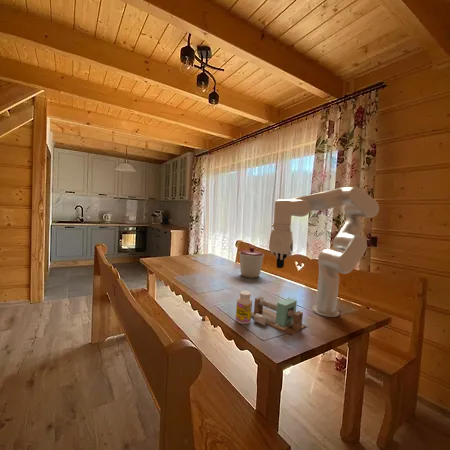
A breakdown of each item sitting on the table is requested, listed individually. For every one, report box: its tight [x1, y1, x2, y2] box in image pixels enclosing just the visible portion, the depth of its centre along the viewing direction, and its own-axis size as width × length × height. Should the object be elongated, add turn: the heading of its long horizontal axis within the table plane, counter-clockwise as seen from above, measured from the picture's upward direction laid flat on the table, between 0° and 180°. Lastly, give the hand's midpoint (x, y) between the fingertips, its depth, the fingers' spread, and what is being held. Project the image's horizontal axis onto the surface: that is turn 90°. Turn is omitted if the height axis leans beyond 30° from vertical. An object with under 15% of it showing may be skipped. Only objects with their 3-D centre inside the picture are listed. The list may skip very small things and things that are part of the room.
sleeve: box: [253, 313, 268, 327], centre depth 113 cm, size 4×5×4 cm
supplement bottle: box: [235, 290, 253, 325], centre depth 113 cm, size 7×7×13 cm
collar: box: [276, 297, 298, 326], centre depth 112 cm, size 9×4×9 cm, turn 135°
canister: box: [238, 246, 265, 279], centre depth 185 cm, size 18×18×21 cm
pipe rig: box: [251, 296, 307, 336], centre depth 116 cm, size 12×23×8 cm, turn 45°
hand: (280, 267), depth 117 cm, fingers closed
